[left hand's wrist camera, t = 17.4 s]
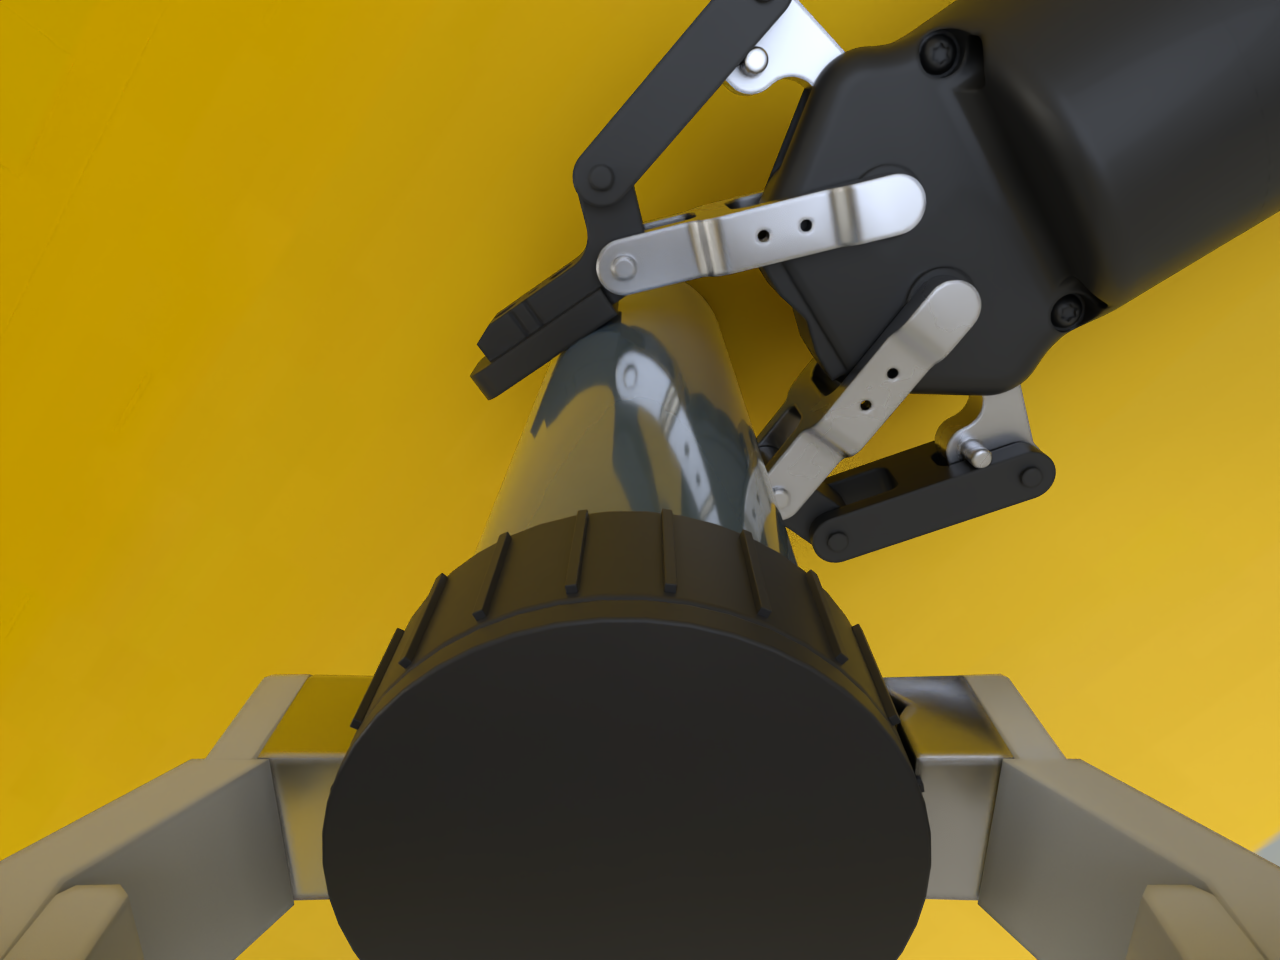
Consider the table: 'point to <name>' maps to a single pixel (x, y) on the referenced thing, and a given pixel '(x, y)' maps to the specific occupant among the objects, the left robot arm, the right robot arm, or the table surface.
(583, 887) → the lid
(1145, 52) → the right robot arm
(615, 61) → the table surface
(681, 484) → the jar
